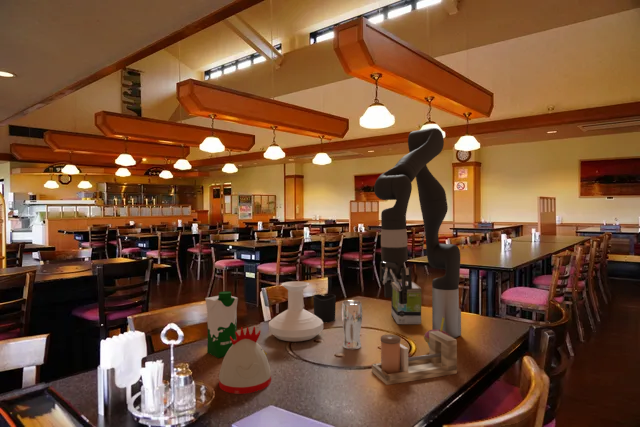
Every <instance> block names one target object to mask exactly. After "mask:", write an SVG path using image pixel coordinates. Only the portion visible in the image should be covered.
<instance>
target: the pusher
mask: <svg viewBox="0 0 640 427" xmlns="http://www.w3.org/2000/svg"><path fill="white" fill-rule="evenodd" d="M435 357H441V353H437V354H430V355H429V354H424V355H417V356H410V357H409V348H408V347H406V346H405V345H404V344H402V343H400V372H406V371H408V361H414V360H421V359H428V358H435Z"/></svg>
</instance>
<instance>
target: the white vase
mask: <svg viewBox="0 0 640 427" xmlns="http://www.w3.org/2000/svg"><path fill="white" fill-rule="evenodd" d="M280 284H281V286H282V287H284V288H285V289H286V290H287V301H288V302H287V309H285V310H284V311H282V312H280V313H279V314H278V315H276V316H274V317H273V318H272V319H271V320H269V321H268V332H269V333H270V334H271V335H273V336H274V337H276V339H278V340H281V341H286V342H303V341H304V342H305V341H308V340H312V339H314V338H315V337H317V336H318V335H319V334H320V333H322V331H323V330H324V323H323V321H322V320H321V319H320V318H318V317H317V316H316V315H314V313H312V312H310V311H308V310H306V309H305V308H304V289H306V288H307V287H308V286H309V285H310V282H307V281H302V280H301V281H293V280H292V281H285V282H282V283H280Z"/></svg>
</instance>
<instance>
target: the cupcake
mask: <svg viewBox="0 0 640 427" xmlns="http://www.w3.org/2000/svg"><path fill="white" fill-rule="evenodd" d="M443 323H444V316H443V318H442V322H441V328H440V329H434V330H432V329H429V330H428V331H426V332H425V333H424V336H423V339H424V341H425V342H426V343H427V344H428V346H429V332H431V331H439V332H442V333H444V334H446V335H448V336H450V334H448V333H447V332H446V331H444V330H442V329H443ZM450 337H451V336H450Z"/></svg>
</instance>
